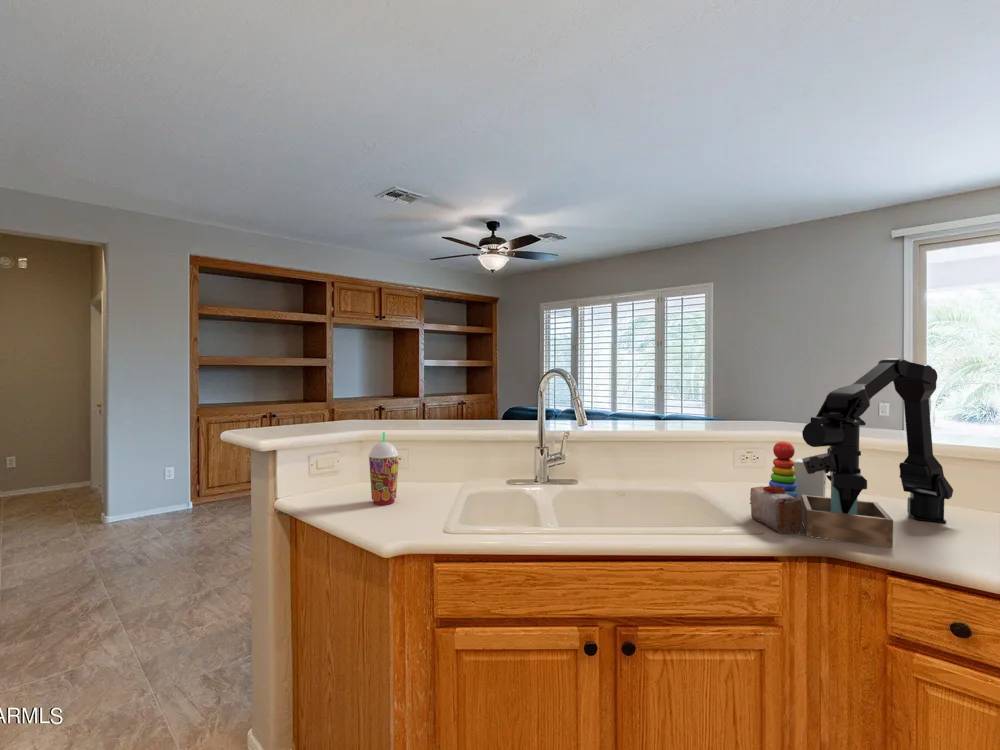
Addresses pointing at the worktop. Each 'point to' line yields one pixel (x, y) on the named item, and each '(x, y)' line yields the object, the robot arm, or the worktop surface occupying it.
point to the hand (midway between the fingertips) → (843, 510)
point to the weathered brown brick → (776, 509)
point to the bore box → (847, 522)
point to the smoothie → (383, 472)
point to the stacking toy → (784, 468)
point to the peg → (836, 502)
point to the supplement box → (809, 481)
